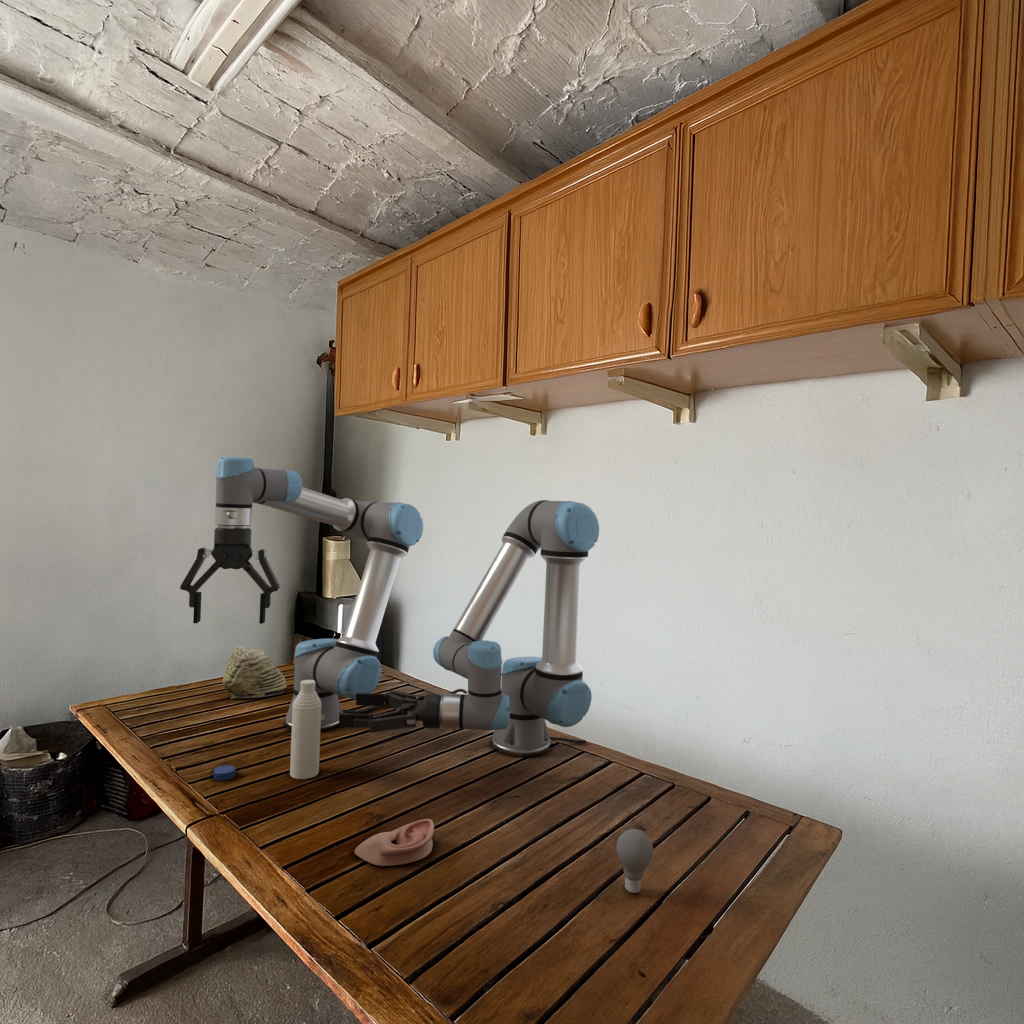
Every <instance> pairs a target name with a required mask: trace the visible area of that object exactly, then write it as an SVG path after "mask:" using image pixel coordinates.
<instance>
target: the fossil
mask: <svg viewBox="0 0 1024 1024" xmlns="http://www.w3.org/2000/svg"><path fill="white" fill-rule="evenodd" d="M222 676H223V677H222V685H223V687H224V688H225V690H226V691H228V693H229V698H230V699H250V698H264V697H271V696H275V695H281V694H284V693H285V691H286V689H287V687H288V686H287V680H286V678H285V676H284V674H283V673H282V672H281V669H279V668H278V667H277V665H276V663H275V662H274V660H273V659H272V658H271V657H270V656H269V655H268V654H267V653H266V652H265V650H264V649H263V648H260V647H258V648H251V647H247V646H246V647H245V646H238V647H237V648H236V649H235V650H233V651H232V653H231V656H230V657H229V659H228V660H227V663H226V666H225V668H224V671H223V675H222Z"/></svg>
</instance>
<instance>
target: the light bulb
mask: <svg viewBox="0 0 1024 1024" xmlns="http://www.w3.org/2000/svg"><path fill="white" fill-rule="evenodd" d="M615 849H616V854H617V857H618V859H619V861H620V863H621V865H622V867H623V873H624V874H623V875H624V876H625V878H624V888H625V890H627V891H628V892H630V893H634V894H635V893H639V892H640V891H641V889H642V887H641V886H642V879H643V877H644V875H645V871H646V868H647V867H648V866H649V864H650V863H651V861H652V859H653V855H654V847H653V843H652V841H651V838H649V836H648V835H647V834H646V833H645V832H643V831H642V830H641V829H636V828H629V829H627V830H625V831H623V832H622V833H621V834H620V835H619V837H618V839H617V841H616V847H615Z"/></svg>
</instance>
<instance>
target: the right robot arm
mask: <svg viewBox="0 0 1024 1024" xmlns="http://www.w3.org/2000/svg"><path fill="white" fill-rule="evenodd" d="M599 536H600V524H599V519H598V517H597V515H596V513H595V512H594V511H593V509H592V508H591V507H590V506H589V505H587V504H585V503H584V502H578V501H573V500H548V499H541V500H537V501H534V502H532V503H529V504H528V505H527V506H525V507H524V508H523V509H522V510H520V512H519V513H518V514H517V515H516V516H515V517H514V519H512V521H511V523H509V525H508V526H507V528H506V530H505V532H504V533H503V536H502V537H501V542H502V545H501V547H500V548H499V550H498V551H497V553H496V554H495V557H494V558H493V560H492V562H491V563H490V565H489V567H488V569H487V571H486V572H485V574H484V576H483V578H482V579H481V580H480V583H478V584H479V585H478V586H477V587H476V589H475V591H474V593H473V595H472V596H471V598H470V600H469V602H468V603H467V605H466V607H465V608H464V610H463V612H462V613H461V616H460V617H459V619H458V621H457V622H456V624H455V625H454V627H453V629H452V631H451V632H450V634H449V636H448V635H447V636H443V637H441V638H440V639H438V640H437V641H436V643H434V646H433V648H432V649H433V651H432V656H433V660H434V661H435V662H436V664H437V665H438V666H440V667H442V668H443V669H444V670H445V671H449V672H452V673H454V674H456V675H458V676H460V677H462V678H463V679H466V680H467V692H468V693H467V694H465V693H455V694H447V693H444V694H441V693H426V694H425V695H423V694H413V693H409V692H403V691H399V690H393V689H391V690H389V691H388V692H385V693H373V692H371V693H357V694H356V699H355V706H364V707H365V706H367V707H370V706H384V704H385V707H384V708H388V707H387V706H389V707H391V708H395V710H391V711H387V712H382V713H378V714H372V713H371V712H369V713H359V714H351V713H343V714H339V726H338V728H355V729H356V728H357V729H358V728H359V729H361V728H362V729H368V730H369V733H371V734H373V733H374V734H375V733H381V732H385V731H386V732H387V731H392V730H399V729H407V728H411V729H412V728H416V727H417V722H421V723H422V727H423V728H424V729H429V730H430V729H436V730H437V729H438V730H439V729H440V728H442V729H444V730H445V729H446V730H447V729H448V730H452V731H454V732H455V731H457V730H478V731H479V730H482V731H493V732H492V733H493V734H492V739H491V745H492V747H493V748H494V749H495V750H496V751H498V752H500V753H502V754H505V755H509V756H513V757H535V756H539V755H544V754H546V753H547V752H549V750H550V748H551V741H560V742H567V743H573V744H586V743H587V740H586V739H572V738H571V739H570V738H566V737H565V738H564V737H557V736H550V733H549V729H548V726H547V722H546V721H548V722H549V723H550V724H552V725H557V726H560V727H561V728H562V727H563V728H571V727H573V726H576V725H577V724H578V723H580V722H581V721H582V720H583V719H584V717H585V716H586V715H587V713H588V712H589V710H590V707H591V704H592V690H591V688H590V687H589V684H587V682H585V681H584V680H583V678H584V675H583V673H584V668H583V666H581V664H580V663H579V661H578V651H579V649H578V648H579V629H580V627H579V626H580V609H581V607H580V604H581V584H582V582H581V581H582V565H583V563H584V562H585V561H587V559H589V551H590V550H591V549H593V548H594V547H595V545H596V543H597V542H598V540H599ZM539 550H540V557H541V558H542V559H543V560H544V562H545V563H546V564H545V566H546V567H545V585H544V586H545V587H544V606H543V607H544V608H543V609H544V610H543V629H542V630H543V631H542V650H541V651H542V654H541V656H515V657H510V658H507V659H505V660H504V662H503V659H502V647H501V644H500V643H498V642H497V641H494V640H493V641H492V640H484V638H485V636H486V634H487V633H488V631H489V629H490V628H491V626H492V624H493V622H494V620H495V619H496V617H497V615H498V613H499V612H500V610H501V608H502V606H503V605H504V603H505V601H506V599H507V597H508V596H509V594H510V592H511V591H512V589H513V587H514V585H515V583H516V582H517V580H518V578H519V576H520V574H521V573H522V571H523V569H524V567H525V566H526V563H528V560H529V559H532V558H535V556H536V554H537V553H538V551H539ZM442 695H444V696H442Z"/></svg>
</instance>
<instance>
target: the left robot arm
mask: <svg viewBox="0 0 1024 1024" xmlns="http://www.w3.org/2000/svg"><path fill="white" fill-rule="evenodd" d="M215 472H216V474H215V507H214V525H216V526H217V527H215V528H214V533H213V534H214V535H213V548H212V549H210V548H206V547H204V546H203V547H199V548H198V549H197V552H196V554H197V555H196V558H195V560H194V561H193V563H192V566H191V567H190V569H189V571H187V574H186V575H185V577H184V579H183V580H182V582H181V584H180V586H179V589H180V590H181V591H185V592H188V595H189V596H188V606H189V608H193V616H192V617H193V618H192V619H193V621H192V622H193V624H198V623H200V622H201V618H202V617H201V616H202V591H199V590H200V589H201V587H202V586H203V585H204V584H205V583H207V582H208V580H210V578H212V576H213V575H214V574H215V573H216V572H217V571H218V570H219V569H220V568H221V569H222V570H230V569H231V570H240V569H243V571H244V572H246V573H247V575H248V576H249V577H250V578H251V579H252V580H253V582H254V583H255V584H256V585H257V586H258V587H259V589H260V590H261V591H262V592H261V593H260V594H259V595H260V598H259V619H258V621H259V622H258V623H259V625H261V624H265V622H266V613H267V612H266V611H267V610H266V609H269V608H270V607H271V605H272V593H275V592H277V591H279V590H280V588H281V585H280V584H279V582H278V579H277V577H276V576H275V573H274V571H273V569H272V567H271V565H270V563H269V560H268V559H267V550H266V549H265V548H261V549H257V550H256V549H255V550H253V549H252V529H251V528H250V526H252V525H253V503H254V504H256V505H257V504H258V505H261V506H265V507H268V508H272V509H275V510H279V511H282V512H285V513H290V514H293V515H296V516H299V517H303V518H306V519H309V520H313V521H316V522H320V523H323V524H327V525H331V526H333V528H334V529H335V530H336V531H339V532H342V533H345V534H349V535H351V536H354V537H356V538H359V539H362V540H364V541H366V545H367V547H368V548H369V554H368V557H367V559H366V562H365V563H366V564H365V567H364V570H363V573H362V577H361V580H360V581H359V582H360V583H359V586H358V589H357V592H356V596H355V599H354V601H353V605H352V608H351V611H350V615H349V619H348V621H347V625H346V628H345V631H344V634H343V635H342V636H341V637H340V638H338V639H337V638H317V639H316V638H315V639H308V640H304V641H300V642H299V643H298V644H297V645H296V646H295V650H294V651H295V652H294V655H293V658H294V672H293V673H294V674H293V695H292V696H293V697H292V699H291V702H290V704H289V708H288V711H287V713H286V715H285V726H286V728H287V729H289V730H292V707H293V703H294V700H295V698H296V697H297V695H298V694H299V692H300V687H301V685H300V684H301V683H300V682H301V681H303V680H314V681H315V691H316V694H318V696H319V699H320V700H321V727H320V732H325V731H329V730H332V729H335V728H337V727H339V714H365V713H367V712H369V711H371V710H372V711H373V710H374V709H379V708H388V707H389V708H390V706H387V707H385V703H384V706H367V707H365V708H363V709H358V710H353V709H342V706H341V702H340V699H339V696H340V697H341V698H345V699H351V700H356V694H357V693H373V692H374V690H376V688H377V686H378V685H379V683H380V681H381V677H382V671H383V670H382V669H383V668H382V667H381V666H382V664H381V662H380V660H379V659H378V655H379V652H380V651H379V648H378V647H377V644H376V643H377V639H378V635H379V632H380V628H381V626H382V622H383V620H384V619H383V618H384V616H385V612H386V609H387V605H388V601H389V598H390V595H391V592H392V588H393V586H394V585H393V584H394V581H395V578H396V575H397V571H398V568H399V565H400V561H401V559H402V558H404V557H406V556H408V553H409V550H410V547H412V546H415V545H416V544H417V543H419V542H420V540H421V539H422V536H423V532H424V521H423V518H422V517H421V513H420V511H419V510H418V508H416V507H415V506H414V505H411V504H409V503H403V502H400V501H399V502H391V501H389V502H387V501H368V500H367V501H366V500H365V501H364V500H355V499H352V498H349V497H348V498H347V497H344V498H342V499H340V498H337V497H334V496H331V495H328V494H326V493H321V492H319V491H316V490H313V489H309V488H307V487H304V486H303V480H302V477H301V476H300V474H299V473H298V472H296V471H295V470H288V469H278V468H277V469H276V468H259V467H256V466H255V461H254V459H253V458H248V457H239V456H221V457H220V458H219V459H218V460H217V465H216V471H215ZM210 555H211V556H212V558H213V559H214V562H213V563H212V564H211V566H210V567H209V568H208V569H207V570H206V571H205V572H204V573H203V574H202V575H201V576H200V577H199V579H197V580H196V581H195V582H194V583H193V585H192V582H193V581H194V579H195V578H196V576H197V574H198V572H199V571H200V569H201V567H202V565H203V564H204V562H205V560H206V559H208V558H209V556H210ZM252 557H254V558H255V559H256V560H258V562H259V564H260V566H261V569H262V571H263V573H264V575H265V577H266V579H267V581H268V583H269V584H268V583H267V581H265V579H264V578H263V577H262V576H261V575H260V574H259V572H258V571H257V570H256V568H254V566H253V564H252V563H251V562H250V559H251V558H252ZM458 693H462V694H465V695H467V694H468V690H466V689H465V688H458V689H455V690H452V691H451V692H447V693H446V694H458ZM441 695H442V696H444V694H441Z"/></svg>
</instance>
